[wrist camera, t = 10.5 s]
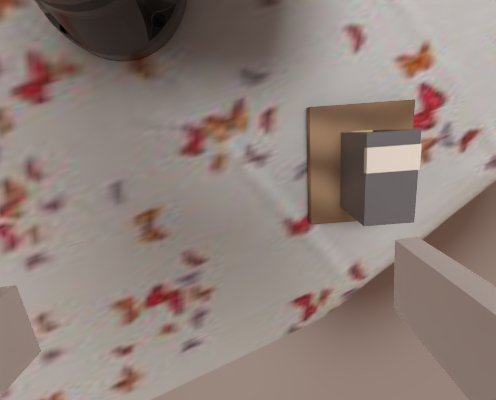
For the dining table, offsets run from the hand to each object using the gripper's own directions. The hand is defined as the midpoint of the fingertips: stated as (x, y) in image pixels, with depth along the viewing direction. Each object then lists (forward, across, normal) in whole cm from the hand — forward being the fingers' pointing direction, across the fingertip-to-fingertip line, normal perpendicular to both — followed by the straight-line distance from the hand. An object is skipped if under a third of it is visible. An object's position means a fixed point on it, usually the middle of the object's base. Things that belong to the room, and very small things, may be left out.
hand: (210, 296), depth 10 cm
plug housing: (+24, +15, -1) cm, 29 cm away
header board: (+26, +15, -1) cm, 30 cm away
